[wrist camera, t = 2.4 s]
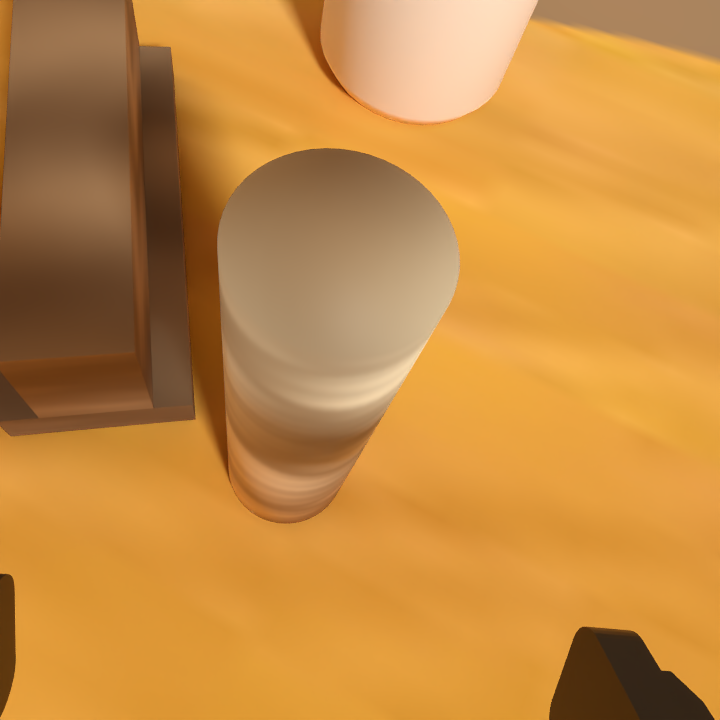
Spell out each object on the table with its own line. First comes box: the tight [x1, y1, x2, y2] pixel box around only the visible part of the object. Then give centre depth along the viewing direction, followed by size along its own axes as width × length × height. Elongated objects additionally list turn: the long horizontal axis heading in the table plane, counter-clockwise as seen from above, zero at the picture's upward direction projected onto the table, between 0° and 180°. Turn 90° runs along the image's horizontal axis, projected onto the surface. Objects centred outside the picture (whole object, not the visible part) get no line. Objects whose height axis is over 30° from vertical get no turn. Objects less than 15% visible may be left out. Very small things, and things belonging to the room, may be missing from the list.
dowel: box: [217, 148, 460, 523], centre depth 17 cm, size 4×4×14 cm
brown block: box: [0, 0, 195, 436], centre depth 24 cm, size 16×6×6 cm, turn 9°
